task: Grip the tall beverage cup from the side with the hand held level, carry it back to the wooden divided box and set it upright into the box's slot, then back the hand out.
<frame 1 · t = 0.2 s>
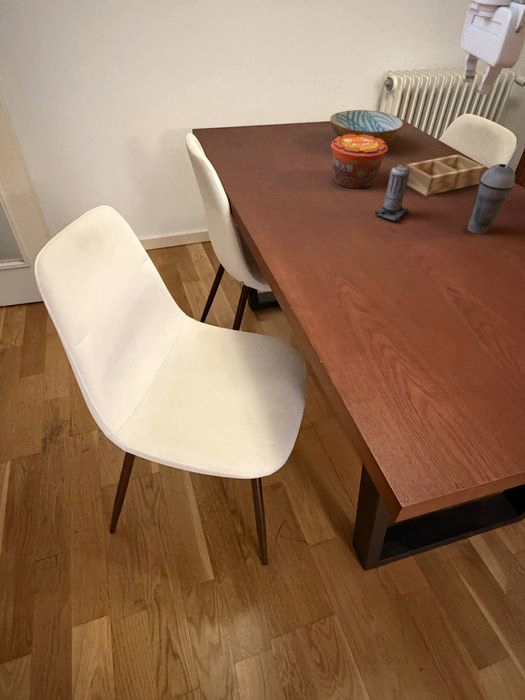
hand: (474, 87, 76), 31 cm above the table, tool pointing down, fingers open, 8 cm apart
beverage cup: (476, 230, 100), on the table
grey column figurine: (390, 216, 105), on the table
bowl: (362, 145, 144), on the table
wooden divided box: (439, 182, 120), on the table
food container: (353, 181, 121), on the table
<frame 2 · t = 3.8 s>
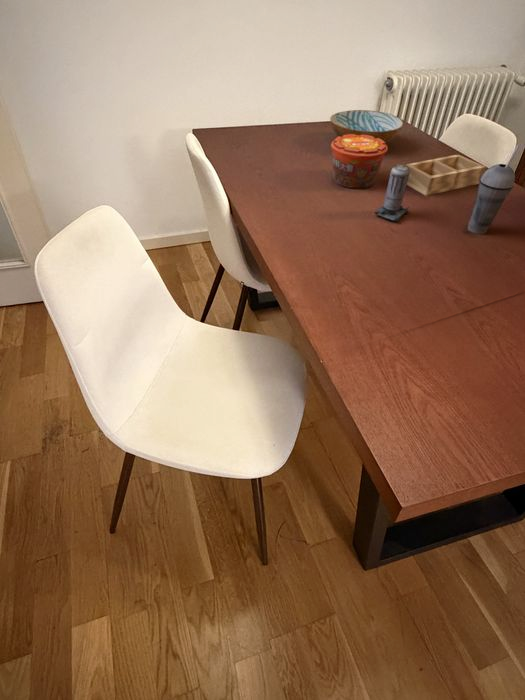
nothing on the table moved.
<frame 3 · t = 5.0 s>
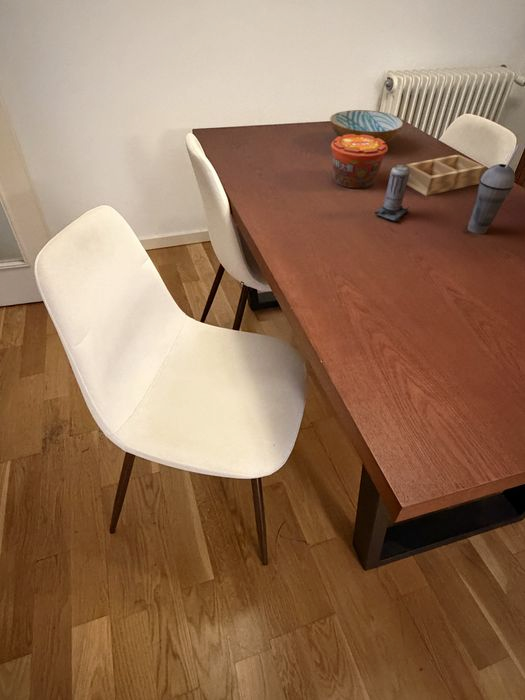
nothing on the table moved.
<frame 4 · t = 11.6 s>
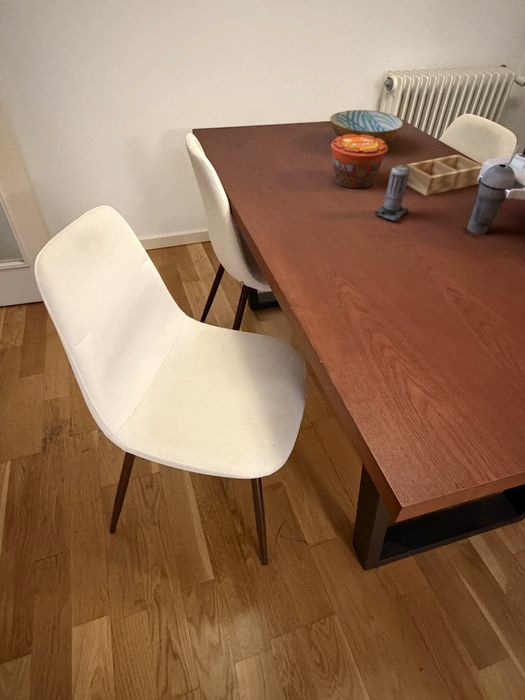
hand: (492, 186, 92), 11 cm above the table, tool horizontal, fingers closed on beverage cup, 7 cm apart
beverage cup: (476, 230, 100), on the table, touching gripper
everything else where it was.
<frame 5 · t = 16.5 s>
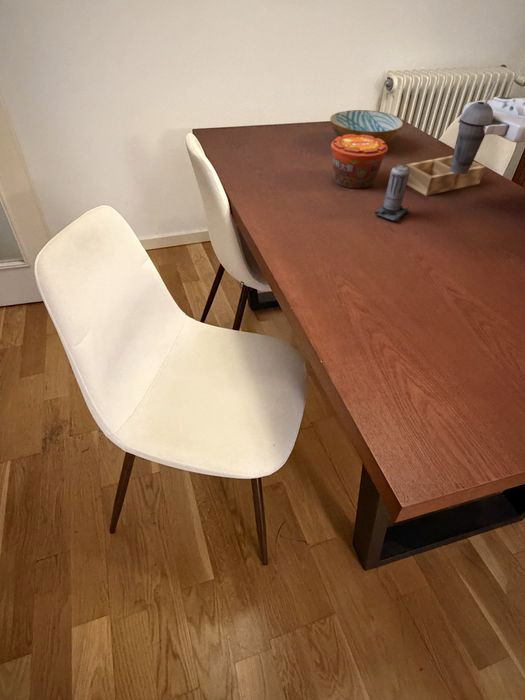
hand: (471, 124, 96), 20 cm above the table, tool horizontal, fingers closed on beverage cup, 7 cm apart
beverage cup: (458, 171, 104), point 9 cm above the table, touching gripper
everything else where it was.
when the fingers open (12 cm above the table, at t = 21.8 s): beverage cup stays where it is, resting on wooden divided box.
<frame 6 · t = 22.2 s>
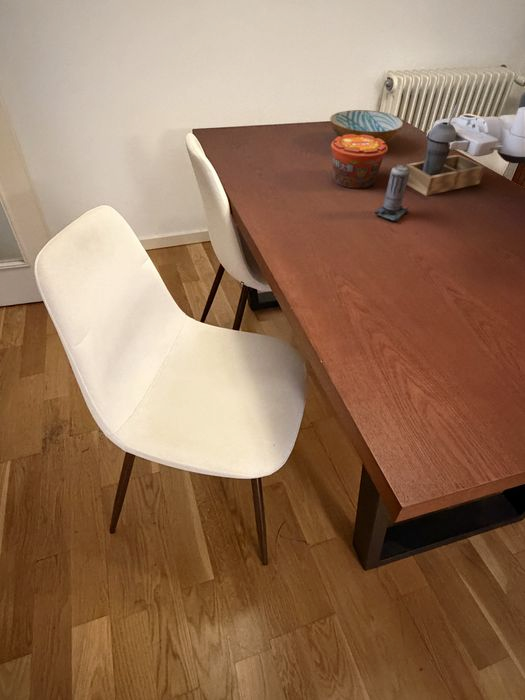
hand: (438, 139, 110), 13 cm above the table, tool horizontal, fingers open, 8 cm apart
beverage cup: (428, 182, 118), point 1 cm above the table, touching wooden divided box
everything else where it was.
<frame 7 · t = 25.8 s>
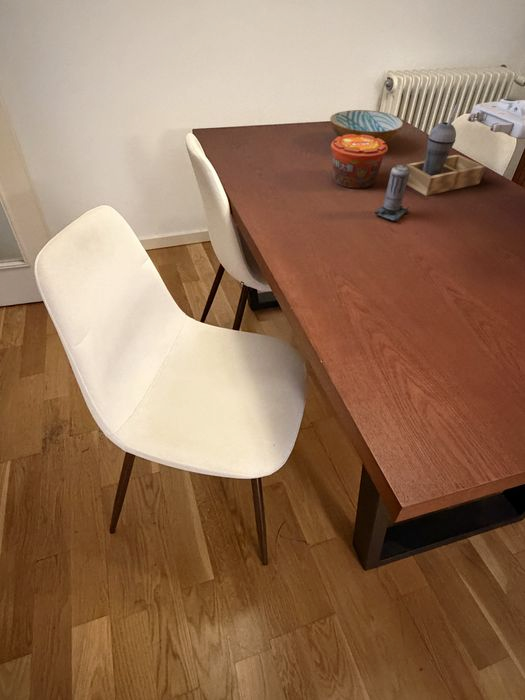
hand: (480, 122, 110), 16 cm above the table, tool horizontal, fingers open, 8 cm apart
nothing on the table moved.
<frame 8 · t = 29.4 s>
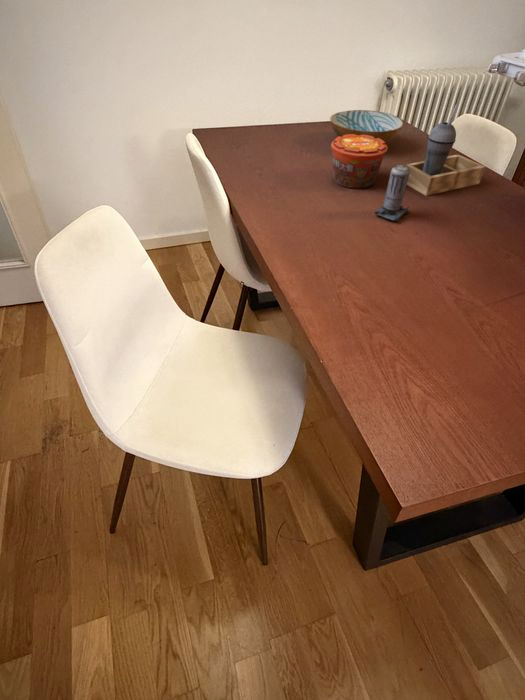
hand: (503, 72, 100), 28 cm above the table, tool horizontal, fingers open, 8 cm apart
nothing on the table moved.
at the end: beverage cup 0.1 cm from the target spot in the wooden divided box, point 1.0 cm above the wooden divided box's base; beverage cup tilted 0° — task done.
